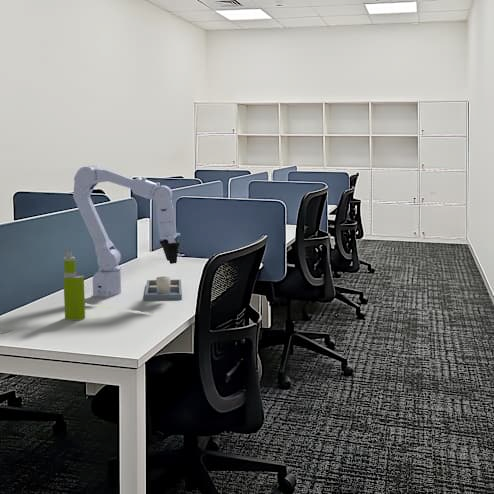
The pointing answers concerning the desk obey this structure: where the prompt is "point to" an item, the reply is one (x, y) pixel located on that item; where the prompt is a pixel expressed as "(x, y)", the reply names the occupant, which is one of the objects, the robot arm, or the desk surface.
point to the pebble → (163, 285)
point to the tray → (152, 294)
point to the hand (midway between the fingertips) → (171, 261)
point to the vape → (73, 290)
